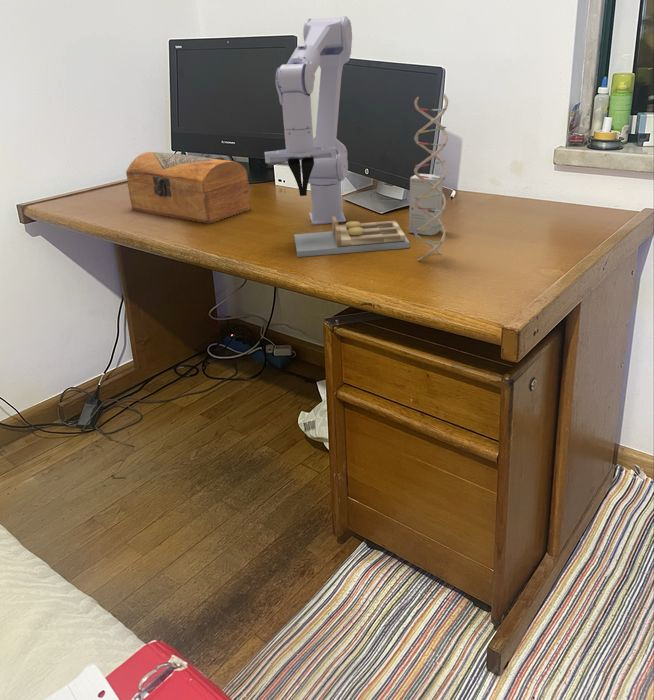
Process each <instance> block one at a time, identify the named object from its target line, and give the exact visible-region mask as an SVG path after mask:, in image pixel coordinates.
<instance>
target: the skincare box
mask: <svg viewBox="0 0 654 700" xmlns="http://www.w3.org/2000/svg"><path fill="white" fill-rule="evenodd" d="M418 174H419V175H420V176H426V177H429V178H425V179H427V180H428V181H430V182H431V183H433V184H434V185H435V184H436V183H438V182H439V181H440V180H439V179H431V178H432V177H436V178H442V177H443V175H439V174H432V173H431V174H430V173H429V174H428V173H418ZM443 183H444V181H443V182H442V183H441V184H440V185H439V186H438V187H437V188H439V189H440V190H441V191H442V192H443ZM431 187H432V186H430V185H429V184H427V183H426V182H424V181H423V180H421V179H420V178H418V177H417V176H416V175H415V174H414V175H412V176H410V178H409V213H408V232H409V234H414V232H415V229H418V228H420V227H421V226H423V225H424V224H426V223H427V222H429V221H430V219H433V218H432V217H429V215H427V214H426V213H424V212H422V211H421V210H419V209H418V208H416V207H415V205H414V201H415V200H416V199H415V198H418V197H419V196H421V195H422V194H423V193H425V192H426V191H428V190H430V189H431ZM435 194H439V193H438V192H437V191H436V190H435V189H434V190H433V191H431V192H430V193H428V194H427V195H425V196H424V197H426V196H431V195H435ZM442 202H443V199H442V197H441V195H438V196H433V197H428V198H424V199H420V200H419V201H418V202H417V204H418V205H419V206H420V207H421V208H428V210H426V209H424V210H426V211H428V212H429V213H431V214H433V215H434V216H436V215H437V214H438V213H439V212H437V211H432V210H431V209H435V210H442V207H443V204H442ZM438 219H439V220H440V222H441V223H442V214H441V215H440V217H439V218H438ZM438 225H439V223H438V222H437V221H436V220H435V221H434V222H433V223H431V224H430V225H428V226H426V227H425V228H430V227H434V226H438ZM425 228H423V229H425ZM440 231H442V228H441V227H436V228H431V229H427V230H422V231H418V233H417V235H424V236H435V235H437V234H438V233H439V232H440Z"/></svg>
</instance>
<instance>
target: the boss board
mask: <svg viewBox="0 0 654 700" xmlns="http://www.w3.org/2000/svg"><path fill="white" fill-rule="evenodd" d="M360 223H361V222H360V221H357V220H356V221H353V220H352V221H346V222H345V225H346V228H348V232H349V234H350V235H352V236H360V234H363V228H360ZM293 235H294V236H293V237H294V243H295V250H296V256H297V258H303V257H312V256H313V257H314V256H326V255H329V256H330V255H341V254H350V253H364V252H373V251H387V250H401V249H410V244H411V243H410V241H409V239H408V238H407V236H406V235H405V241H397V242H384V243H372V244H360V245H348V246H337V243H336V240H335V237H334V234H333V231H332V230H331V231H320V232H309V233H308V232H307V233H306V232H305V233H297V234H293Z"/></svg>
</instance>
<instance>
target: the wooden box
mask: <svg viewBox="0 0 654 700" xmlns="http://www.w3.org/2000/svg"><path fill="white" fill-rule="evenodd" d="M125 173H126V180H127V189H128V194H129V200H130V204H131V205H130V206H131V209H132V211H136V212H139V213H140V212H141V213H146V212H147V214H151V213H152V214H153V215H157V214H158V216H162V215H164V216H163V217H168V216H169V217H170V218H174V217H175V218H174V219H180V218H181V220H184V219H186V220H185V221H190V220H192V221H191V222H195V221H197V223H201V222H203V223H202V224H206V223H210V224H212V223H216V221H217V222H220V221H221V219H222V220H225V219H227V217H228V218H230V216H231V217H234V216H236V214H237V215H240V214H243V213H245V212H244V211H246V212H248V211H251V210H250V209H252V201H251V191H250V183H249V179H248V171H247V169H246V168H245V167H244V166H243V165H242V164H241V163H239V162H236V161H233V160H228V159H227V160H226V159H219V158H210V157H206V156H198V155H189V154H182V153H181V154H180V153H171V152H170V153H169V152H156V151H147V152H143V153H141V154H139V155H138V156H136V157H135V158H134V159H133V160H132V161H131V162H130V164H129V166H128V167H127V169H126V171H125ZM242 212H243V213H242ZM239 213H240V214H239ZM233 215H234V216H233ZM169 217H168V218H169ZM224 218H225V219H224Z"/></svg>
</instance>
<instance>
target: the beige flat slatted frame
mask: <svg viewBox="0 0 654 700" xmlns="http://www.w3.org/2000/svg"><path fill="white" fill-rule="evenodd" d="M331 227H332V228H331V229H332V230H331V231H333V234H334V237H335V240H336V243H337V246H348V245H360V244H372V243H384V242H397V241H405V236H406V233H404V231H403V230H402V228H401V227H400V225H399V224H398V222H397V220H388V221H387V220H384V221H376V222H375V221H373V222H363V223H361V222H360V228H363V234H360V236H352V235H350V234H349V232H348V228H346V224H340V225H339V222H337V219H336V217H335V216H334V217H332V223H331Z"/></svg>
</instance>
